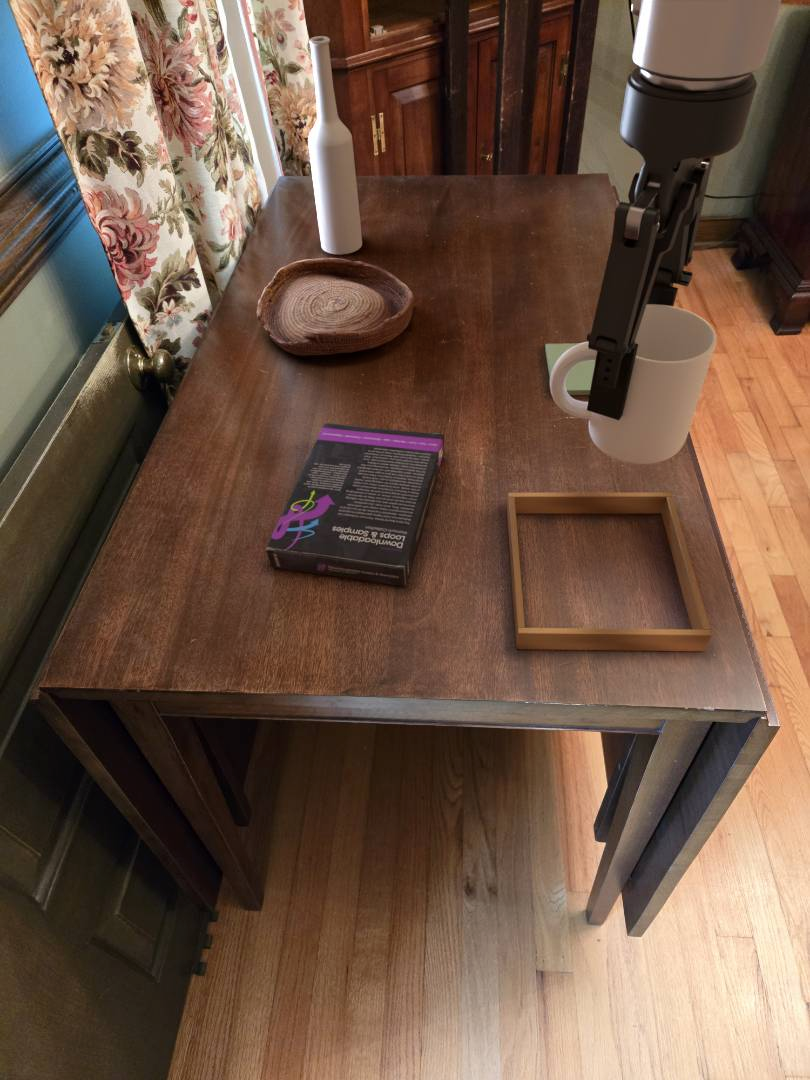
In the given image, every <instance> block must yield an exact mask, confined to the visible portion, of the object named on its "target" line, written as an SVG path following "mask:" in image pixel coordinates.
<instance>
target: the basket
mask: <svg viewBox="0 0 810 1080" xmlns="http://www.w3.org/2000/svg"><path fill="white" fill-rule="evenodd" d="M414 304H415V301H414V294H413V292H412V291H411V289H410V288H409V287H408V286H407V285H406V284H405V283H404V282H402V281H401V279H399V277H397V276H395V275H394V274H393V273H391V272H389V271H387V270H386V269H384V268H382V267H379V266H378V265H374V264H372V263H366V262H364V261H360V260H358V261H357V260H354V261H352V260H349V259H346V258H341V257H340V258H339V257H321V258H310V259H308V258H305V259H301V260H298V261H297V260H296V261H294V262H292V263H289V264H287V265H284V266H283V267H280V268H279V269H278V270H277V271H276V272H275V274H274V276H273V277H272V280H270V281H269V283H268V284H267V286H265V287H264V289H263V291H262V293H261V295H260V298H259V299H258V300H257V307H256V317H257V319H258V321H259V323H260V324H261V326H262V327H263V330H264V331H265V333H266V334H267V336H268V338H270V339H271V340H272V342H274V343H275V344H276V345H277V346H278V347H280V348H281V349H283V351H285V352H287V353H290V354H292V355H295V356H302V357H305V356H324V355H325V356H326V355H327V356H328V355H334V354H335V355H336V354H348V353H349V354H350V353H356V352H360V351H365V350H372V349H376V348H378V347H380V346H383V345H385V344H386V343H389V342H391V341H393V340H394V339H395V338H396V337H398V336H399V335H400V334H402V332H403V331H404V330H405V329H407V327H408V326H409V323H410V321H411V318H412V315H413V311H414V310H413V309H414Z"/></svg>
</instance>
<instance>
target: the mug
mask: <svg viewBox="0 0 810 1080" xmlns="http://www.w3.org/2000/svg"><path fill="white" fill-rule="evenodd" d="M579 343H580V344H577V345H575V346H573V347H571V348H570V349H568V350H567V351H566V352H564V353H563V354H562V355H561V356H560V358H559V359H558V360H557V362H556V364H555V365H554V367H553V370H552V373H551V377H549V390H550V394H551V397H552V399H553V401H554V403H555V405H556V406H557V407H558V408H559V409H560V410H561V411H563V412H564V413H566V414H567V415H568V414H569V415H570V416H572V417H575V418H579V419H584V420H588V433H589V436H590V439H591V441H592V442H593V444H594V445H595V446H596V447H597V449H599V450H600V451H601V452H602V453H604V454H605V455H607V456H608V457H610V458H612V459H614V460H616V461H619V462H622V463H626V464H631V465H652V464H653V465H654V464H657V463H661V462H665V461H667V460H669V459H671V458H673V457H674V456H675V455H676V454H678V453H679V452H680V451H681V450H682V448H683V446H684V445H685V443H686V440H687V439H688V435H689V432H690V429H691V426H692V423H693V419H694V416H695V413H696V410H697V406H698V404H699V399H700V396H701V394H702V390H703V388H704V384H705V380H706V377H707V374H708V370H709V367H710V364H711V361H712V357H713V354H714V351H715V348H716V345H717V333H716V331H715V329H714V327H713V326H712V325H711V323H709V322H708V320H706V319H705V318H704V317H702V316H700V315H698V314H697V313H695V312H693V311H690V310H687V309H684V308H681V307H677V306H675V305H674V306H668V305H657V304H648V305H646V308H645V311H644V314H643V317H642V320H641V323H640V327H639V330H638V333H637V336H636V339H635V343H636V344H638V348H637V353H636V357H635V362H634V366H633V371H632V375H631V380H630V384H629V388H628V393H627V397H626V402H625V406H624V411H623V415H622V417H621V418H620V420H616V419H613V418H610V417H606V416H603V415H600V414H597V413H594V412H591V411H588V410H587V406H588V401H583V400H578V399H575V398H573V397H572V395H569V394H568V392H567V390H566V377H567V375H568V373H569V371H570V370H571V369H572V367H574V366H575V365H576V364H578V363H579V362H582V361H586V360H596V355H597V351H595V350H592V349H589V348H588V344H589V343H588V341H587V340H586V341H584V342H579Z"/></svg>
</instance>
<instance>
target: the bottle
mask: <svg viewBox="0 0 810 1080" xmlns="http://www.w3.org/2000/svg"><path fill="white" fill-rule="evenodd" d="M330 42H331V39H330V38H329V37H328V36H325V35H319V36H313V37H311V38H310V39H308V43H309V44H310V52H311V60H312V61H311V62H312V67H313V68H312V71H313V78H314V87H315V100H316V101H315V102H316V103H315V104H316V117H317V118H316V121H315V123H314V125H313V127H312V128H311V130H310V132H309V135H308V139H307V142H308V150H309V160H310V167H311V176H312V182H313V183H312V185H313V191H314V199H315V207H316V215H317V216H316V217H317V223H318V231H319V238H320V246H321V249H322V251H324V252H325V253H327V254H331V255H340V256H341V255H349V254H352V253H354V252H356V251H359V250H360V249H361V247H362V246H363V239H362V238H363V236H362V235H363V234H362V225H361V224H362V223H361V214H360V203H359V194H358V183H357V173H356V163H355V154H354V153H355V151H354V143H353V142H354V141H353V135H352V133H351V131H350V130H349V128H347V126H346V125H345V124H344V123H343V121H341V118H340V117H339V115H338V109H337V108H338V107H337V102H336V96H335V89H334V81H333V72H332V63H331V62H332V61H331V54H330V46H329V45H330V44H329V43H330Z"/></svg>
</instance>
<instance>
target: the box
mask: <svg viewBox="0 0 810 1080" xmlns="http://www.w3.org/2000/svg"><path fill="white" fill-rule="evenodd" d="M320 429H321V430H320V431H319V434H318V436H317V438H316V441H315V443H314V445H313V447H312V449H311V452H310V453H309V455H308V458H307V460H306V462H305V464H304V466H303V469H302V471H301V473H300V475H299V477H298V479H297V482H296V484H295V486H294V487H293V490H292V492H291V494H290V496H289V498H288V501H287V503H286V504H285V506H284V508H283V511H282V513H281V515H280V518H279V519H278V522H277V524H276V526H275V528H274V530H273V532H272V534H271V536H270V539H269V541H268V542H267V545H266V547H265V551H266V554H267V558H268V561H269V565H270V566H271V568H275V569H282V570H289V571H297V572H305V573H312V574H319V575H325V576H326V575H327V576H332V577H340V578H348V579H353V580H361V581H367V582H368V581H369V582H375V583H381V584H388V585H394V586H401V587H406V585H407V582H408V580H409V576H410V572H411V569H412V566H413V562H414V559H415V556H416V552H417V548H418V545H419V541H420V538H421V535H422V532H423V527H424V525H425V520H426V517H427V514H428V510H429V507H430V504H431V500H432V497H433V493H434V489H435V486H436V482H437V478H438V474H439V471H440V468H441V465H442V462H443V457H444V453H445V452H444V448H445V447H444V445H445V434H444V433H439V432H435V433H433V432H432V433H431V432H422V431H410V430H399V429H390V428H389V429H388V428H380V427H379V428H378V427H368V426H367V427H366V426H358V425H357V426H355V425H348V424H347V425H346V424H338V423H331V422H324V423H323V425H322V427H321V428H320Z"/></svg>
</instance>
